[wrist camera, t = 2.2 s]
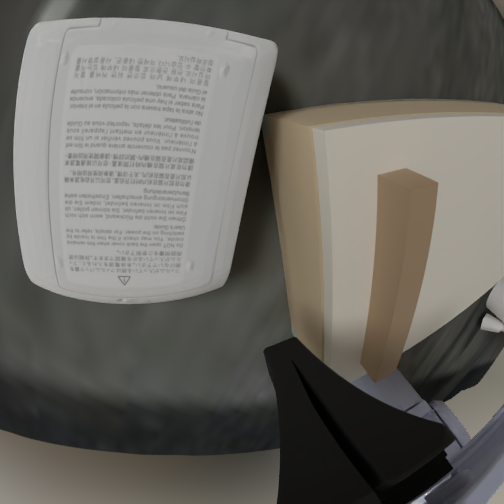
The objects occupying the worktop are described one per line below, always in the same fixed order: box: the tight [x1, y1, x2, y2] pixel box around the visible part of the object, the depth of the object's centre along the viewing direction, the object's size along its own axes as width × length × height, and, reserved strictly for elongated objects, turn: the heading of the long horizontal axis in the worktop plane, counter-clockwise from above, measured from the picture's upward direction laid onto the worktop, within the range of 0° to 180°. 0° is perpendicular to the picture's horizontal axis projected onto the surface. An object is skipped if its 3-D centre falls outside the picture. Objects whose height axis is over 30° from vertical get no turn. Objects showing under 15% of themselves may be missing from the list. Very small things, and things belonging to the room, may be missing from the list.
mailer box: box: [261, 99, 504, 363], centre depth 18 cm, size 16×26×5 cm, turn 101°
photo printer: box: [14, 18, 278, 304], centre depth 11 cm, size 10×4×12 cm
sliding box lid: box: [312, 113, 504, 383], centre depth 15 cm, size 16×26×3 cm, turn 101°
